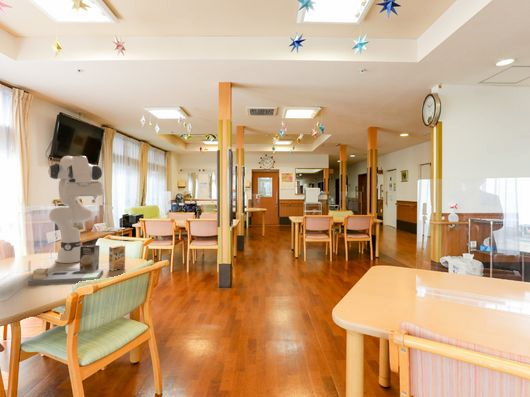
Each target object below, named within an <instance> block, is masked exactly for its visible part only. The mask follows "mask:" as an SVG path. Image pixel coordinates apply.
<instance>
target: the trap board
mask: <svg viewBox="0 0 530 397" xmlns="http://www.w3.org/2000/svg"><path fill="white" fill-rule="evenodd" d="M101 275H102V276H103V275H104V269H99V270H86V271H80V270H68V271H67V270H65V271H48V277H46V278H45V279H33V277H32V278H30V279H28V280H27V286H41V285H59V284H60V285H61V284H73V283H74V284H75V283H77V282H79V281H86V280H94V279H98V278H99V277H100V276H101ZM102 276H101V277H102ZM101 277H100V278H101ZM100 278H99V279H100ZM99 279H98V280H99ZM79 283H80V282H79Z"/></svg>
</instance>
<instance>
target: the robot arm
mask: <svg viewBox="0 0 530 397" xmlns="http://www.w3.org/2000/svg"><path fill="white" fill-rule="evenodd" d="M48 175H49V178H51V179H53V180H59V182H58V195H59V201H60V203H61V204H62V205H64V206H67V207H56V208H53V209H51V210H50V211H49V214H48V215H49V216H48V217H49V220H50V221H51V222H53V223H54V224H56V226H57V227H58V228H59V229H60V233H61V235H60V236H61V242H60V248H59V249H57V259H55V260H54V262H56V263H60V264H73V263H77V262H78V263H80V247H81V246H82V240H81V230H80V229H79V228H77V227H75V226H72V223H83V222H87V221H88V222H89V221H90V220H91V219H92V216H93V211H92V210H91V209H90V208H89V207H87V206H85V205H84V204H83V203H82V202H81V200H80V199H79V197H93V199H92V200H91V203H92V204H95V203H96V200H97V198H98V197H99V196H103V194H104V192H103V188H102V187H103V185H102V182H100V181H99V180H100V179H101V177H102V176H103V171H102V168H101V167H100V166H99V165H97V164H91V163H89V160H88V157H87V156H85V155H75V156H71V155H64V156H63V157H62V158H60V162H59V163H57V162H55V164H54V163H53V164H51V165H50V166H49V168H48Z"/></svg>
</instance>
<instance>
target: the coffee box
mask: <svg viewBox="0 0 530 397" xmlns="http://www.w3.org/2000/svg"><path fill="white" fill-rule="evenodd" d="M99 267H100V245H95V244H85V245H81V247H80V261H79V271H86V270H98V269H99ZM99 270H100V269H99Z"/></svg>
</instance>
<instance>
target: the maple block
mask: <svg viewBox="0 0 530 397" xmlns="http://www.w3.org/2000/svg"><path fill="white" fill-rule="evenodd" d="M48 272H49V268H45V267H44V268H36V269H35V270H33V272H32V276H33V277H32V278H33V279H45V278H46V277H48Z"/></svg>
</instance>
